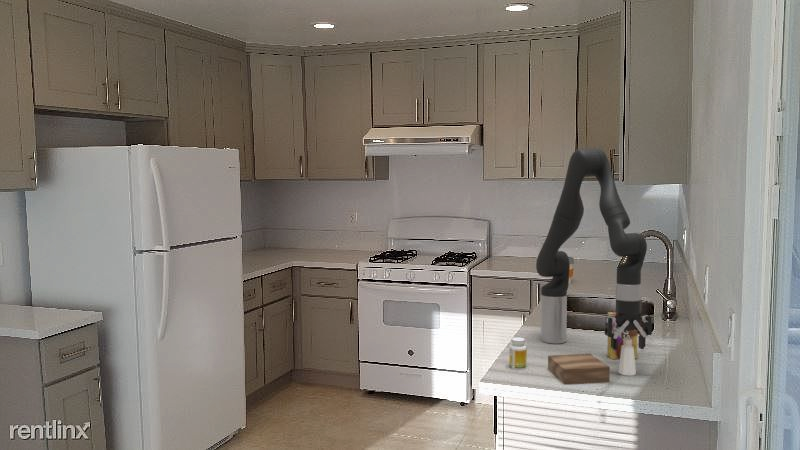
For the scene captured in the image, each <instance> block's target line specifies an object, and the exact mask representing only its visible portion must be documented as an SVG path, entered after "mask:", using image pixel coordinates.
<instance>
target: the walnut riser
mask: <svg viewBox="0 0 800 450" xmlns="http://www.w3.org/2000/svg"><path fill="white" fill-rule="evenodd" d="M548 369H549V370H550V372H551V374H553V375H554V376H555V377H556V378H557V379H558V380H559V381H560V382H561V383H562V384H563V385H579V384H580V385H581V384H596V383H597V384H599V383H600V384H601V383H610V377H611V376H610V369H611V368H610V366H609V365H608V364H606V363H605V362H603V361H602V360H600V359H599V358H597V357H596V356H594V355H593V354H592V353H574V354H573V353H572V354H555V355H552V354H551V355H547V370H548Z"/></svg>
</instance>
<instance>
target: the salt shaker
mask: <svg viewBox="0 0 800 450" xmlns="http://www.w3.org/2000/svg"><path fill="white" fill-rule="evenodd" d="M636 369H637V368H636V358H635V356H634V347H633V346H632V339H631V338H623V345H622V348H621V355H620V359H619V365H618V374H620V375H622V376H629V377H631V376H636V374H637V371H636Z"/></svg>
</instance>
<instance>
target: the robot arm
mask: <svg viewBox="0 0 800 450" xmlns="http://www.w3.org/2000/svg"><path fill="white" fill-rule="evenodd" d="M566 170H567V171H566V175H565V181H564V183H563V187H562V191H561V194H560V197H559V201H558V204H557V205H556V209H555V212H554V215H553V218H552V221H551V224H550V226H549V230H548V232H547V236H546V237H545V240H544V242H543V244H542V247H541V248H540V251H539V253H538V256H537V258H536V263H535V266H536V267H535V268H536V272H537V274H538V275H539V276H541V277H544V278H552V279H550V281H548V282H547V283H546V284H543V285H542V286H541V288H540V341H541V342H543V343H547V344H564V343H566V342H567V322H568V320H567V318H568V317H567V311H568V309H567V308H568V306H567V305H568V303H567V302H568V299H567V298H568V297H567V296H568V294H567V292H568V289H569V285H570V284H569V270H570V263H569V258H568V257H569V256H568V254H567V252H565V251H562V250H560V249H561V247H562V246H563V244H565V243H566V242H567V241H568V240H569V239H570V238H571V237H572V236H573V235H574V234H575V233H576V231H577V230H578V229H579V227H580V224H581V222H582V219H583V216H584V212H585V208H584V203H583V200H582V197H581V193H580V192H581V187H582V183H583V181H584V178H586V177H588V178H589V177H595V179H596V180H597V182H598V183H599V188H600V193H599V194H600V195H599V196H600V197H599V203H598V205H599V207H598V208H599V210H600V213H601V216H602V218H603V220H604V223H605V224H606V227H607V232H608V237H609V239H608V240H609V245H610V248H611V251H612V252H613V253H614V254H615V255H616V256H618V257H622V258H623V257H624V258H625V257H626V260H625V261H624V262H623V263H621V264H618V265H617V268H616V285H615V312H616V316H615V317H608V315H607V316H606V317H605V321H604V335H605V336H606V337H607V338H608V337H611V348H613V350H615V351H616V350H618V339H617V337H618V336H619V334H620V333H622V331H623V330H624V331H628V330H632V331H633V330H636V331H637V335H639V336H638V340H637V348H638V349H640V350H644V349H645V347H646V342H647V341H646V337H648V336H651V335H652V333H653V328H652V327H653V325H652V316H650V315H648V314H644V315H642V299H643V298H642V297H643V295H642V283H641V282H642V281H641V280H642V275H641V274H642V268H643V265H644V261H645V258H646V254H647V251H648V250H647V249H648V243H647V240H646V238H645V236H644V235H643V234H642V233H640V232H632V233H629V232H628V233H626V232H625V229H627V228H628V227H629V226H630V225H631V220H630V217H629V215H628V212H627V211H626V208H625V207H624V204H623V203H622V200H621V198H620V195H619V192H618V189H617V186H616V183H615V179H614V175H613V172H612V169H611V165H610V161H609V158H608V156H607V154H606V152H605V151H603V150H602V149H601V148H595V147H593V148H578V149H576V150H574V152H572V154H571V156H570V159H569V161H568V166H567V169H566ZM614 321H615V322H616V323H617V324H616V325H615V327H614V328H613V331H612V324H614ZM642 322H643V327H642V326H641V323H642ZM619 327H620V328H619Z"/></svg>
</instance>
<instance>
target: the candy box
mask: <svg viewBox="0 0 800 450" xmlns="http://www.w3.org/2000/svg"><path fill="white" fill-rule="evenodd" d="M607 316H608V317H615V316H616V311H615V312H614V311H613V312H611V311H608V312H607ZM616 324H617V323H616V322H615V321H614V324H612V331H613V328H614V327H615V325H616ZM619 328H620V327H619ZM623 338H631V339H632V346H633V347H634V356H635V359H638V332H637V331H636V330H633V331H632V330H628V331H624V330H623V331H622V333H620V334H619V336H618V337H617V339H618V350H616V351H615V350H613V348H611V337H608V336H607V357H608V358H610V359H611V360H620V355H621V348H622V345H623Z"/></svg>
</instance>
